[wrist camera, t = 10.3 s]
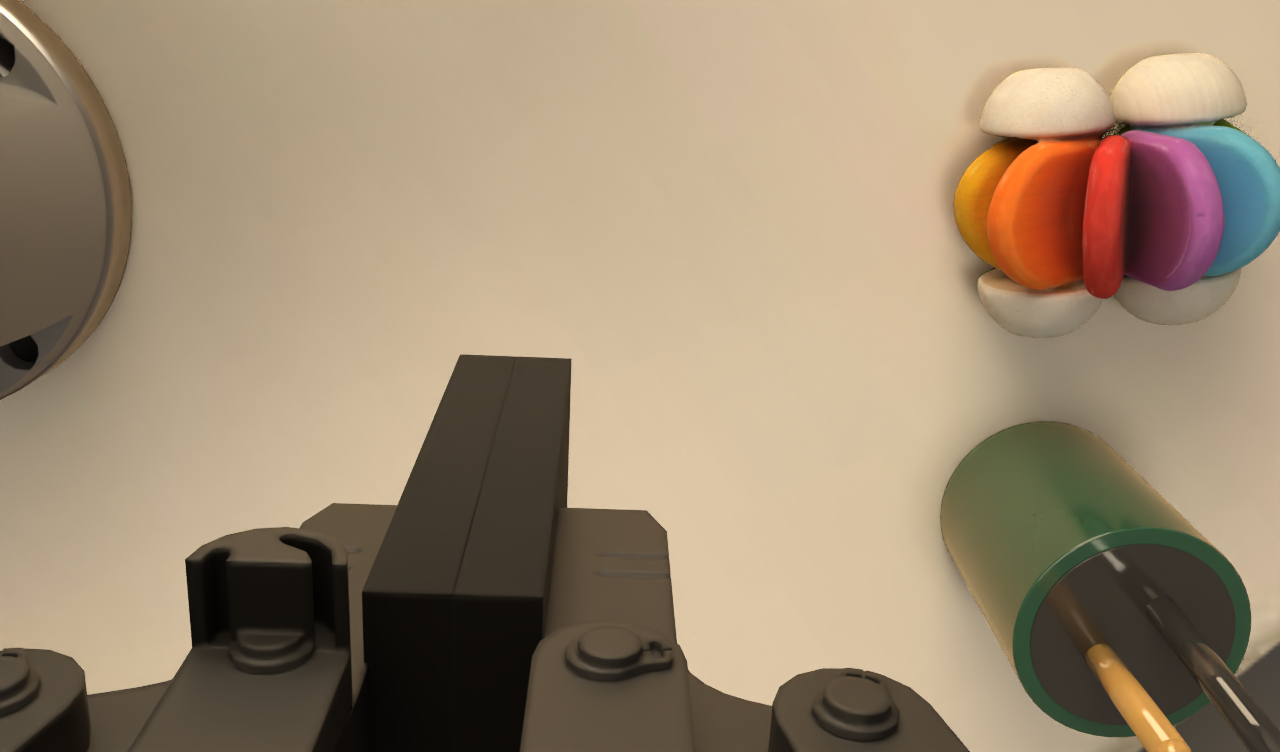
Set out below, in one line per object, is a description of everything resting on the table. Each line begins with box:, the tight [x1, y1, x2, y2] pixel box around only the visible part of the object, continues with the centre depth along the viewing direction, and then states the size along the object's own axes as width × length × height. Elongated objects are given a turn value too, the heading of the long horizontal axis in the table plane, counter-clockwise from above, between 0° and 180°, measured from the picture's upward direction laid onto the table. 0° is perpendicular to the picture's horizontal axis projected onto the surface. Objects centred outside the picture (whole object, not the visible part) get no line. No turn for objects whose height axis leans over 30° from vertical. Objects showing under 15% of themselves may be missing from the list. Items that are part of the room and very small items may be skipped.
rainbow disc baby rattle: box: [954, 53, 1280, 338], centre depth 37 cm, size 8×10×7 cm
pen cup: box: [941, 422, 1280, 752], centre depth 36 cm, size 7×7×16 cm
